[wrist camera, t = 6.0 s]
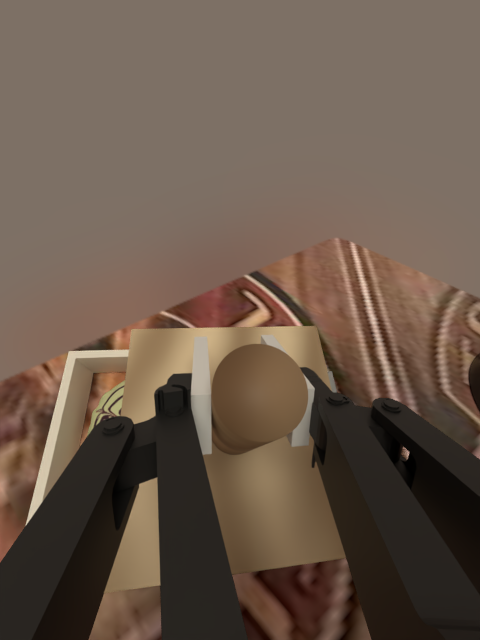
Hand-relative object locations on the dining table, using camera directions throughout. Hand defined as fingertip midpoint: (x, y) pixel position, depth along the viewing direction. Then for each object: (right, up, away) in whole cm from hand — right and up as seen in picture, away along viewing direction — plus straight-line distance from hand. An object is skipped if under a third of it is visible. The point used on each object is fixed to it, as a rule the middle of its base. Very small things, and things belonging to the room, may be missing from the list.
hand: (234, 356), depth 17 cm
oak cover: (0, -5, +2) cm, 6 cm away
